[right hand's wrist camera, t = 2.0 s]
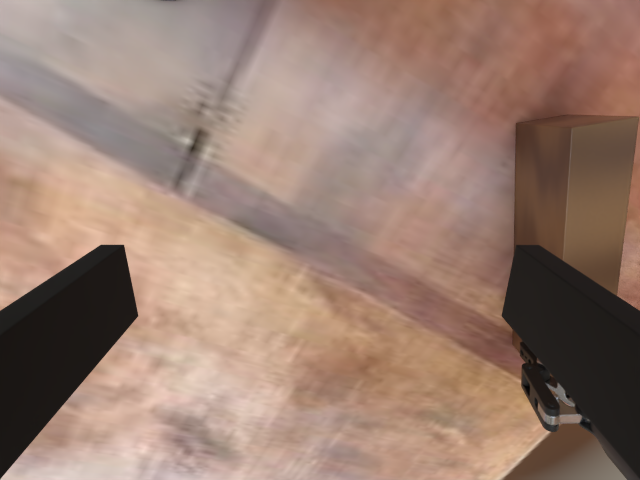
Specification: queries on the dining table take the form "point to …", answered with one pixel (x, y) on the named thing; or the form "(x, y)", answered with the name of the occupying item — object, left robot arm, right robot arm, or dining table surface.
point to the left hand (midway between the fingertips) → (556, 339)
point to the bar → (575, 191)
